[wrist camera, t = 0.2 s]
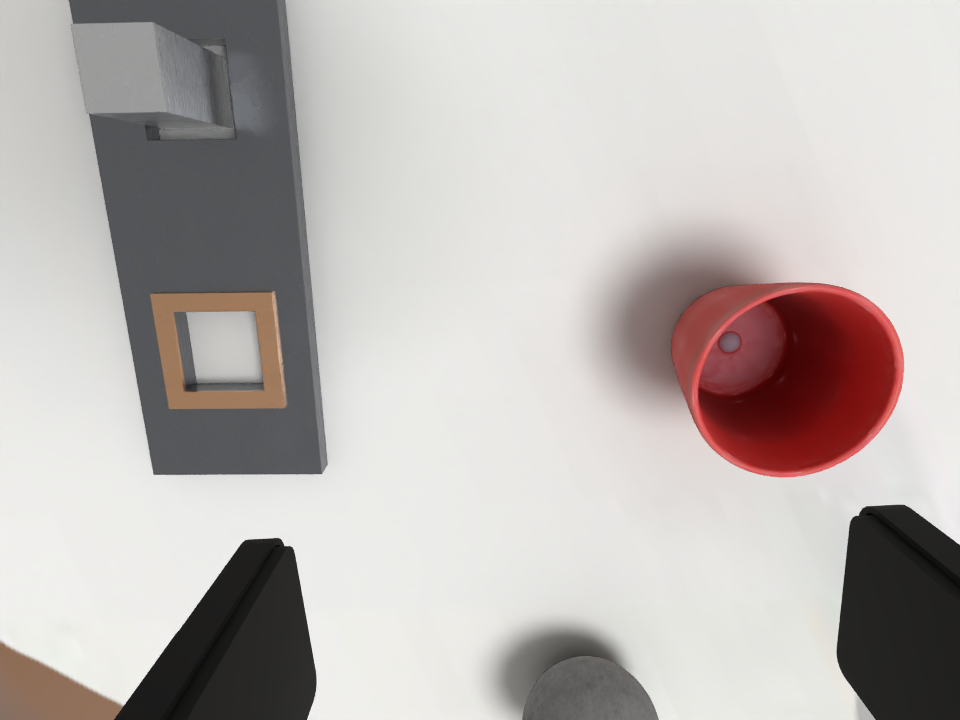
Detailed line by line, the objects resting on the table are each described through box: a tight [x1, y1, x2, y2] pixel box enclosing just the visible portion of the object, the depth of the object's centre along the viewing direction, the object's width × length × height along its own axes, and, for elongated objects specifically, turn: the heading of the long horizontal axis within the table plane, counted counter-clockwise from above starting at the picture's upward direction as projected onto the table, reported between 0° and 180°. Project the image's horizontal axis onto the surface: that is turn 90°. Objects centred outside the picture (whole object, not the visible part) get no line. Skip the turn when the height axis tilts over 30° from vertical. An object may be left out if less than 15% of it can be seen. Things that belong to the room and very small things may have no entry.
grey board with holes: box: [69, 0, 328, 475], centre depth 38 cm, size 34×12×2 cm, turn 1°
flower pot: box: [671, 283, 904, 477], centre depth 36 cm, size 11×11×10 cm
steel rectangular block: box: [71, 22, 234, 130], centre depth 33 cm, size 4×4×8 cm
